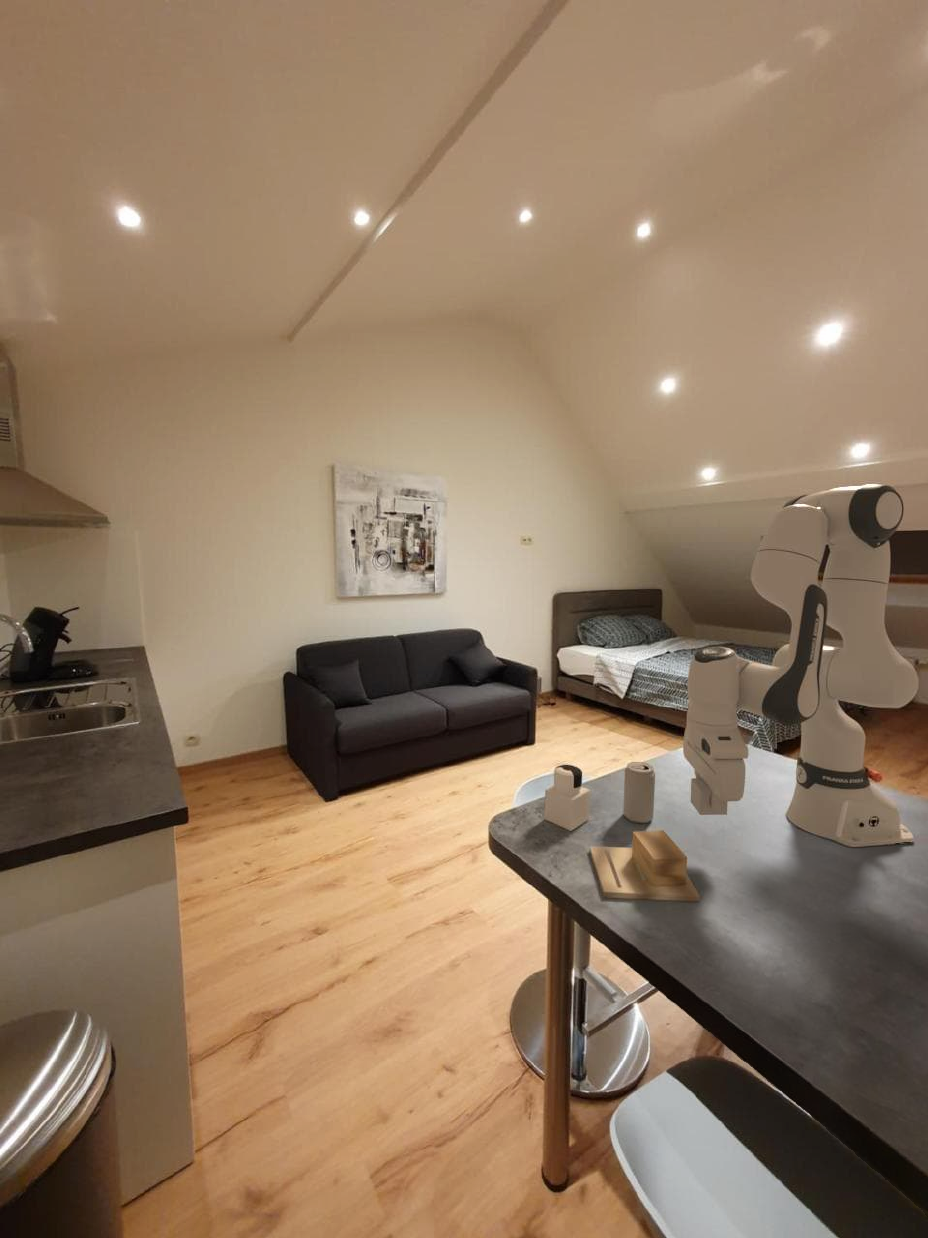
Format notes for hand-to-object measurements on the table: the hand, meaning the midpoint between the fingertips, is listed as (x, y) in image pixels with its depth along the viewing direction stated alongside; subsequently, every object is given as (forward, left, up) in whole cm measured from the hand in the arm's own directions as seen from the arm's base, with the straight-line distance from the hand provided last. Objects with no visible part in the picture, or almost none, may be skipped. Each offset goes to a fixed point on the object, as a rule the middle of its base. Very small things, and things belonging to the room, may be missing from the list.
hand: (708, 799), depth 103 cm
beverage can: (+10, -13, -11) cm, 19 cm away
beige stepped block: (+26, -11, -11) cm, 30 cm away
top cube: (0, 0, -2) cm, 2 cm away
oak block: (+12, +8, -10) cm, 17 cm away
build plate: (+15, +8, -11) cm, 20 cm away
